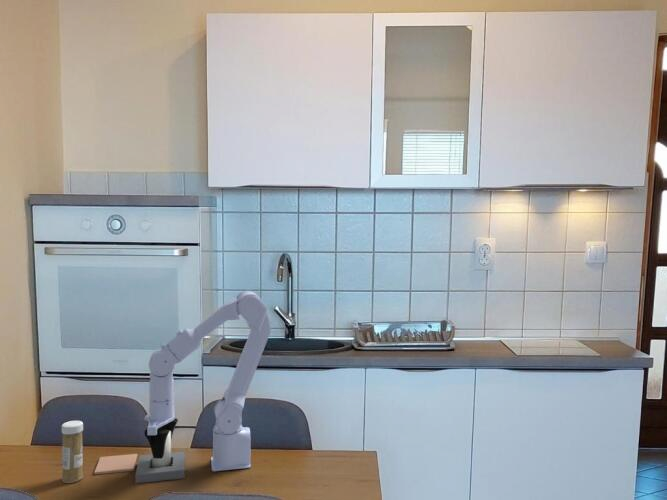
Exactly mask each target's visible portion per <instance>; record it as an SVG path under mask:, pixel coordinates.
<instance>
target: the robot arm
mask: <svg viewBox="0 0 667 500" xmlns="http://www.w3.org/2000/svg"><path fill="white" fill-rule="evenodd" d="M240 315H241V317H242V318H243V319H244V320H245V321H246V324H247V325H248V327H249V330H250V331H249V334H248V337H247V339H246V342H245V344H244V347H243V349H242V352H241V354H240V356H239V359H238V362H237V365H236V367H235V369H234V372H233V375H232V377H231V380H230V383H229V385H228V387H227V389H225V391H224V392H223V393H224V394H223V395H222V398H220V399H219V400H218V402H216V404H215V405H214V410H213V412H214V415H215V419H216V420H215V425H214V426H213V429H212V438H213V439H212V456H211V457H210V466H211V471H212V472H220V471H222V472H223V471H230V470H238V469H239V470H240V469H249V468H250V469H251V463H252V462H251V456H252V450H251V447H252V446H251V445H252V444H251V443H252V440H251V429H250V427H248V426H245V427H244V426H243V424H242V423H243V415H242V413H243V410H244V407H245V402H246V401H245V400H246V396H247V395H248V394H247V393H248V390H249V388H250V385H251V383H252V380H253V378H254V375H255V373H256V371H257V368H258V366H259V364H260V363H259V362H260V360H261V357H262V355H263V352H264V349H265V347H266V345H267V342H268V339H269V337H270V335H271V330H272V329H271V325H270V320H269V314H268V308H267V306H266V304H265V303H264V301H263V300H262V298H261V297H260V296H259V295H258V294H256V292H254V291H252V290H244V291H241V292H240V293H239V294H237V296H234V297H232V298H230V299H229V300H227V301H226V302H225V303H223V304H222V305H221V306H219V308H217V309H216V310H215V311H214V312H212V313H211V314H210V315H209V316H208V317H206V318H205V319H204V320H203V321H201V322H200V323H199V324H198V325H196V326H195V328H184V329H183V330H181V329H179V330H178V331H177V332H176V336H174V337H173V338H172V339H171V340H170V341H168V342H166V343H163V344H161V345H160V348H158V349H156V350H154V351H153V353H152V354H151V356H150V358H149V361H148V368H149V371H150V373H149V379H150V380H149V381H148V382H149V385H148V386H149V391H148V393H149V396H148V397H149V398H148V399H149V410H148V411H149V414H147V415H145V416H144V421H148V426H147V428H145V430H143V431H144V436H145V438H146V440H147V441H148V443H149V446H150V450H151V455H152V454H153V458H163V455H164V449H165V443H166V439H167V436H168V433H169V431H171V440H172V438H173V435H174V434H173V433H174V431H175V428H176V426H177V423H178V422H179V419H178V418H175V416H176V415H175V396H174V395H175V381H174V380H175V379H174V375H173V373H174V371H173V370H174V369H175V365H177V364H180V363H181V362H182V361H184V360H185V359H186V358H188V357H189V356H190V355H192V353H194V352H195V351H197V350H198V349H199V348H201V344H202V339H204V338H205V337H206V336H208V335H210V334H211V333H212V332H214V331H215V330H216V329H217V328H219V327H220V326H222V325H223V324H225V323H226V322H227V321H237V320H240Z"/></svg>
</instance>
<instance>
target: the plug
mask: <svg viewBox="0 0 667 500" xmlns="http://www.w3.org/2000/svg"><path fill="white" fill-rule="evenodd" d="M171 453H172V439H171V431H169V433H168V436H167V439H166V443H165V449H164V455H163V458H153V454H152V453H151V455H152V467H151V468H158V467H168V466H172V465H171Z"/></svg>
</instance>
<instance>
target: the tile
mask: <svg viewBox="0 0 667 500" xmlns="http://www.w3.org/2000/svg"><path fill="white" fill-rule="evenodd" d="M136 459H138V453H131V454H121V455H109V456H108V455H107V456H100V457H99V459H98V462H97V465H96V467H95V470H94V471H93V472H94V476H95V475H103V474H105V475H106V474H113V473H123V472H124V473H125V472H133V471H135V468H136V465H137V460H136Z"/></svg>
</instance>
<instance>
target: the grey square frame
mask: <svg viewBox="0 0 667 500" xmlns="http://www.w3.org/2000/svg"><path fill="white" fill-rule="evenodd" d="M185 461H186V452H185V451H177V452H176V451H175V452H171V464H173V465H170V466H168V467H158V468H153V467H152V454H146V455H145V454H144V455H143V454H142V455H139V458H138V463H137V466H136V471H135V484H141V483H150V482H161V481H169V480H180V479H185V475H186V473H185V466H186V465H185V463H186V462H185Z"/></svg>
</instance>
